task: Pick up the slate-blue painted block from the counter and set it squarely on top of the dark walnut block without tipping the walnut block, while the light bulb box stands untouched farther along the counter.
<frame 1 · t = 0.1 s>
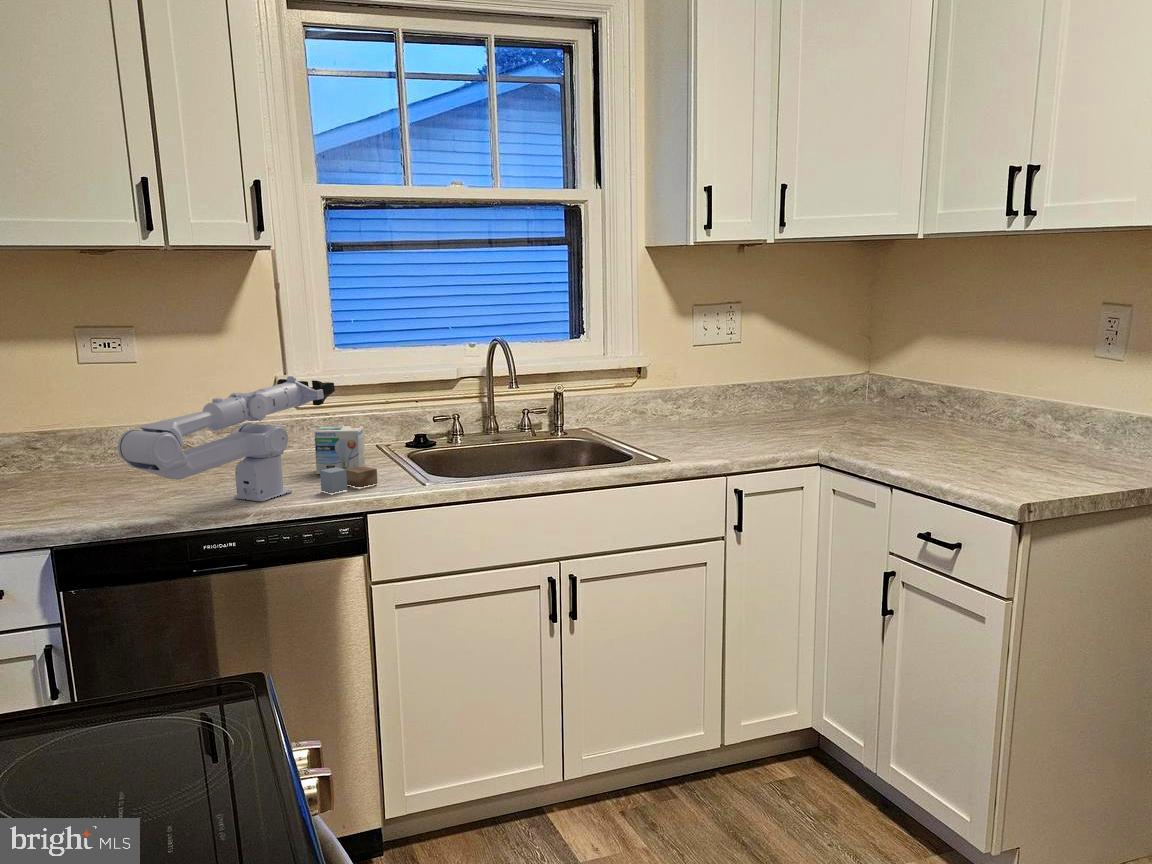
hand: (320, 386, 208), 22 cm above the worktop, tool horizontal, fingers open, 7 cm apart
walnut block: (361, 486, 202), on the worktop
light bulb box: (341, 472, 217), on the worktop
slate block: (334, 492, 197), on the worktop
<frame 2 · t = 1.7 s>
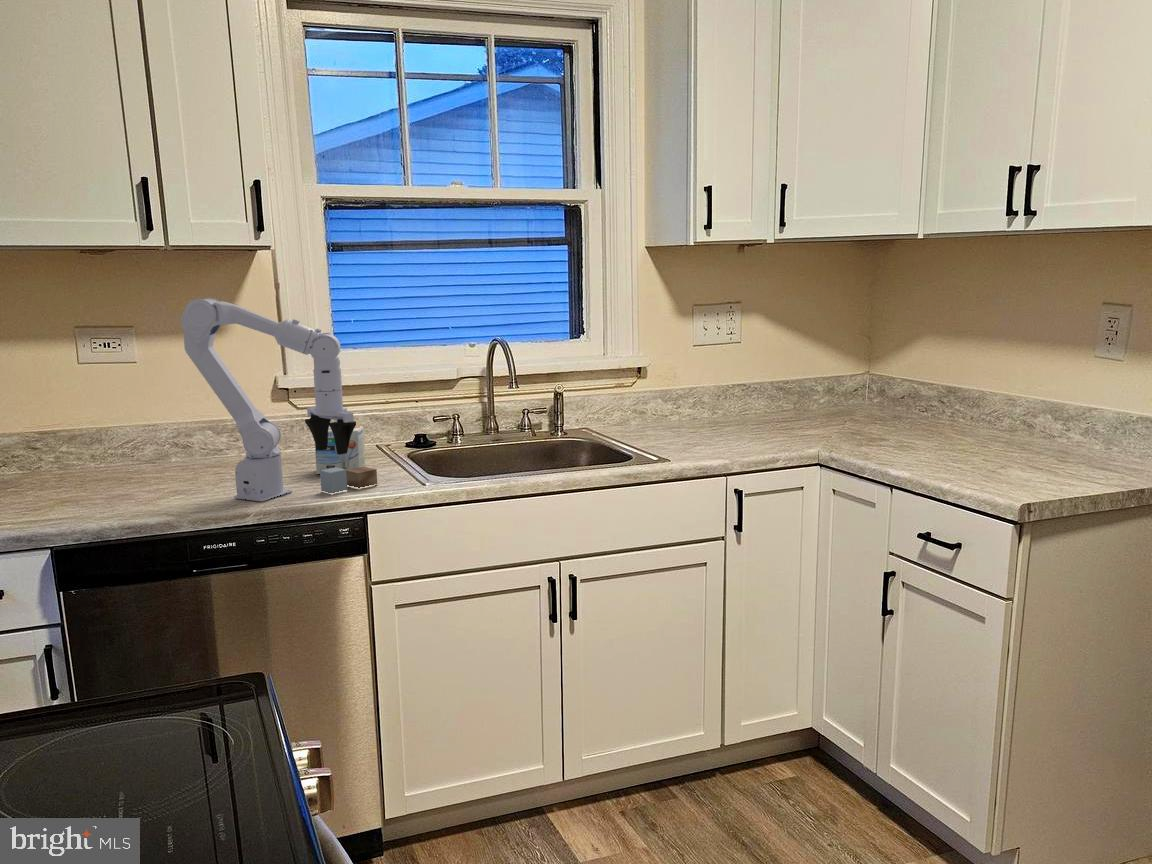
hand: (332, 451, 195), 9 cm above the worktop, tool pointing down, fingers open, 7 cm apart
nothing on the worktop moved.
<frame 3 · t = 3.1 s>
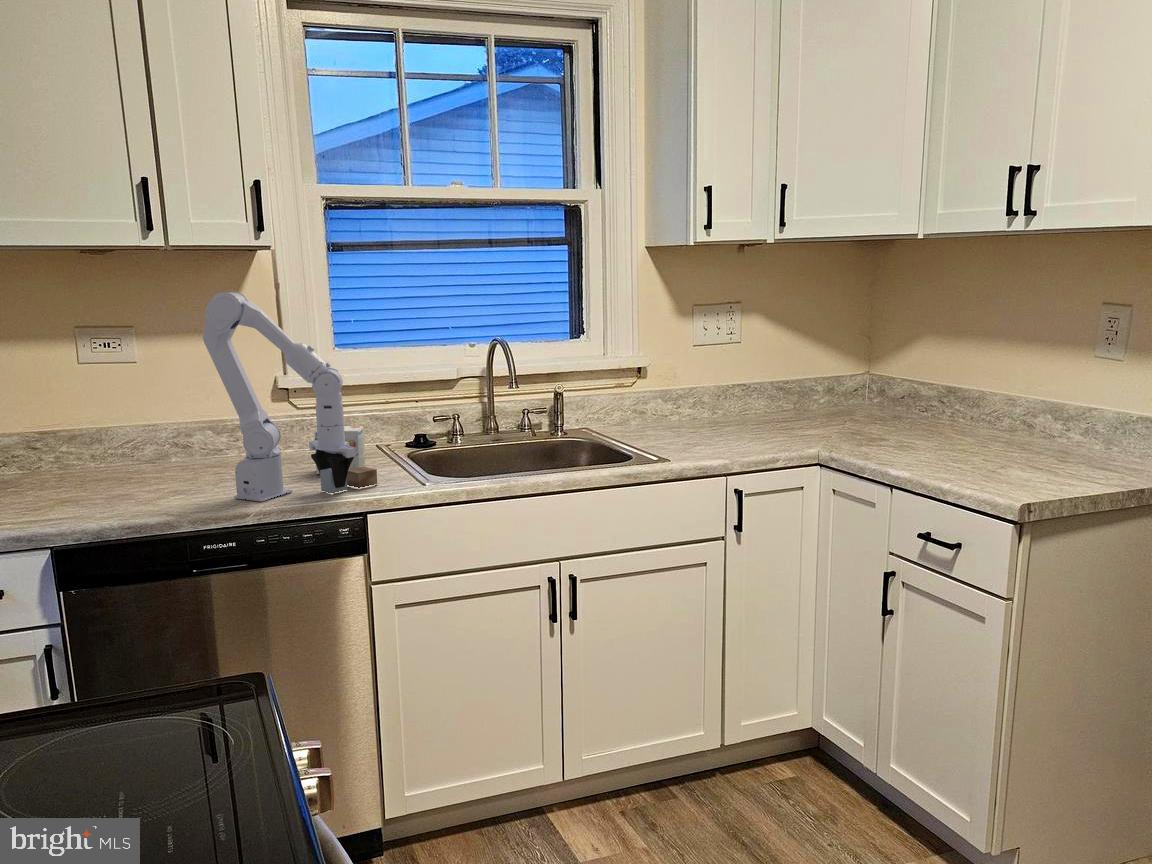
hand: (334, 485, 196), 1 cm above the worktop, tool pointing down, fingers closed on slate block, 4 cm apart
slate block: (334, 491, 197), on the worktop, touching gripper
everything else where it was.
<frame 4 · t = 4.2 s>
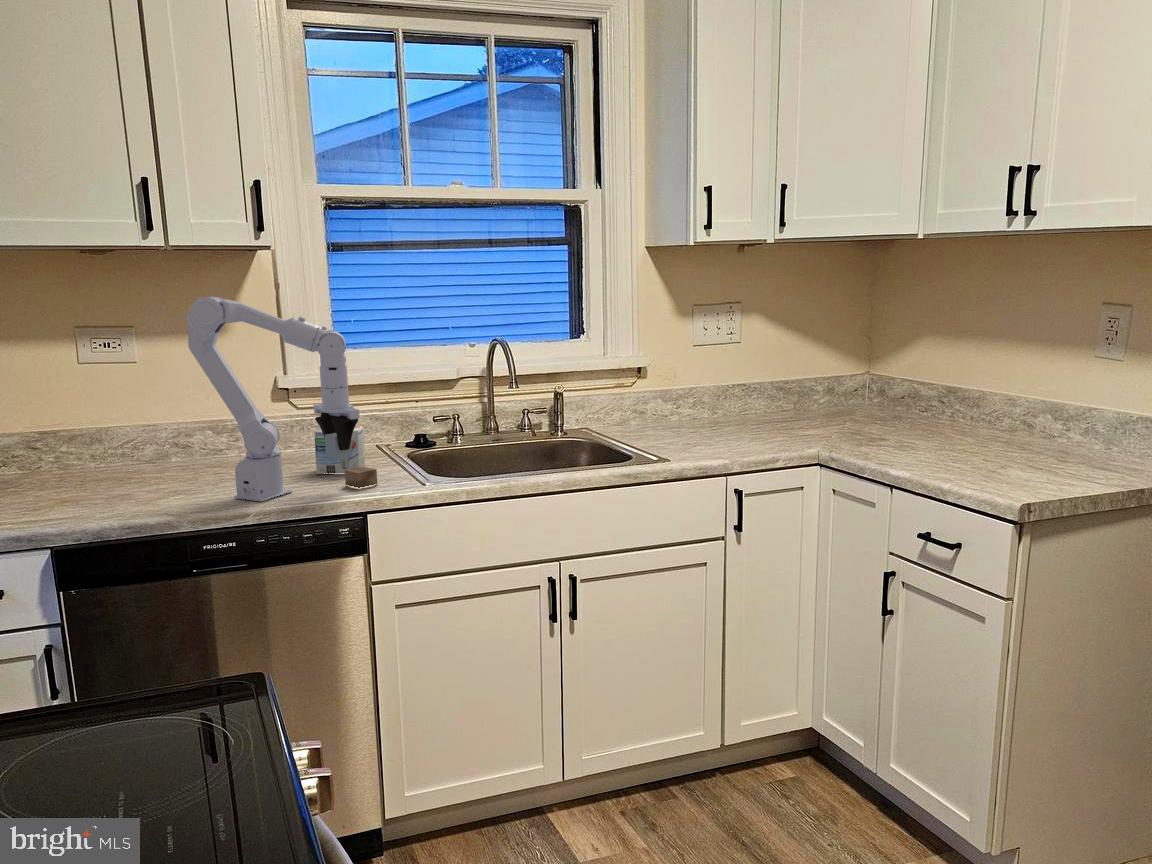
hand: (338, 448, 196), 9 cm above the worktop, tool pointing down, fingers closed on slate block, 4 cm apart
slate block: (339, 456, 196), point 8 cm above the worktop, touching gripper
everything else where it was.
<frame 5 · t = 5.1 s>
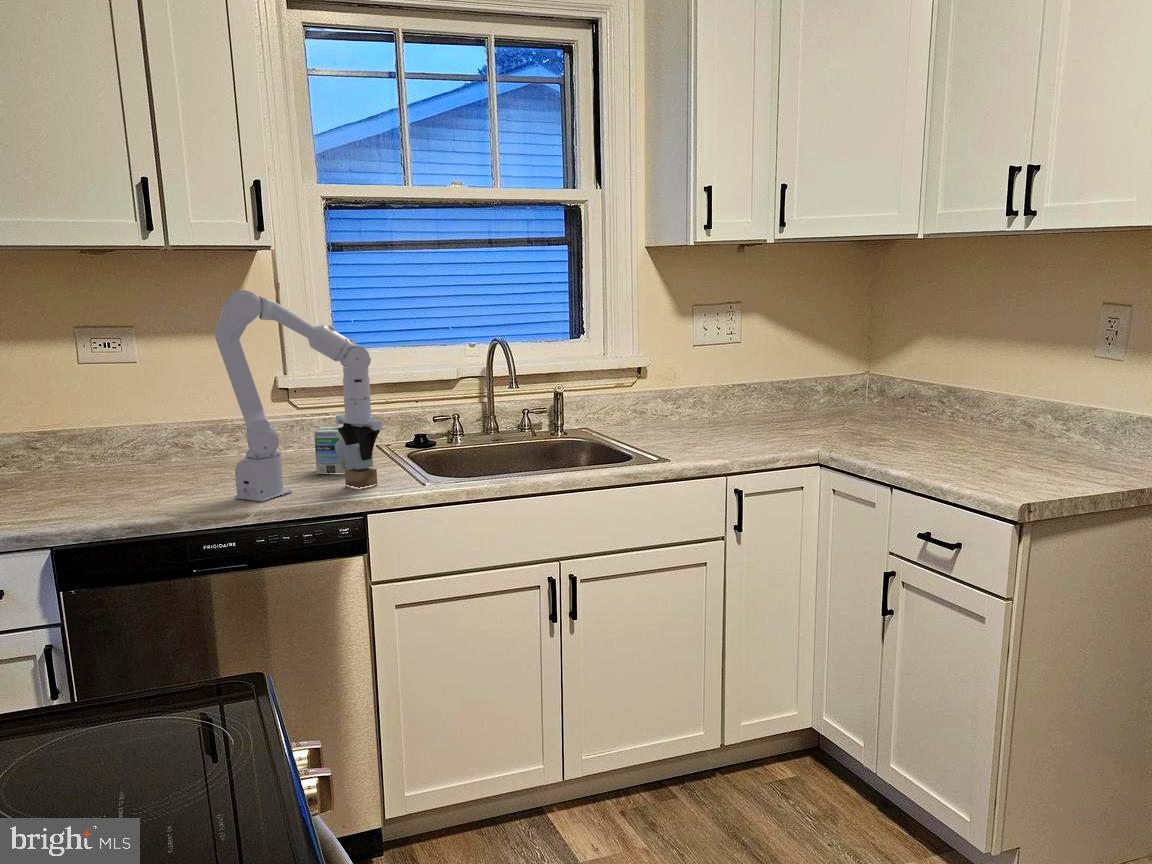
hand: (360, 458, 201), 6 cm above the worktop, tool pointing down, fingers closed on slate block, 4 cm apart
slate block: (360, 466, 201), point 4 cm above the worktop, touching gripper
everything else where it was.
when the fingers open (6 cm above the worktop, at t = 5.5 s): slate block stays where it is, resting on walnut block.
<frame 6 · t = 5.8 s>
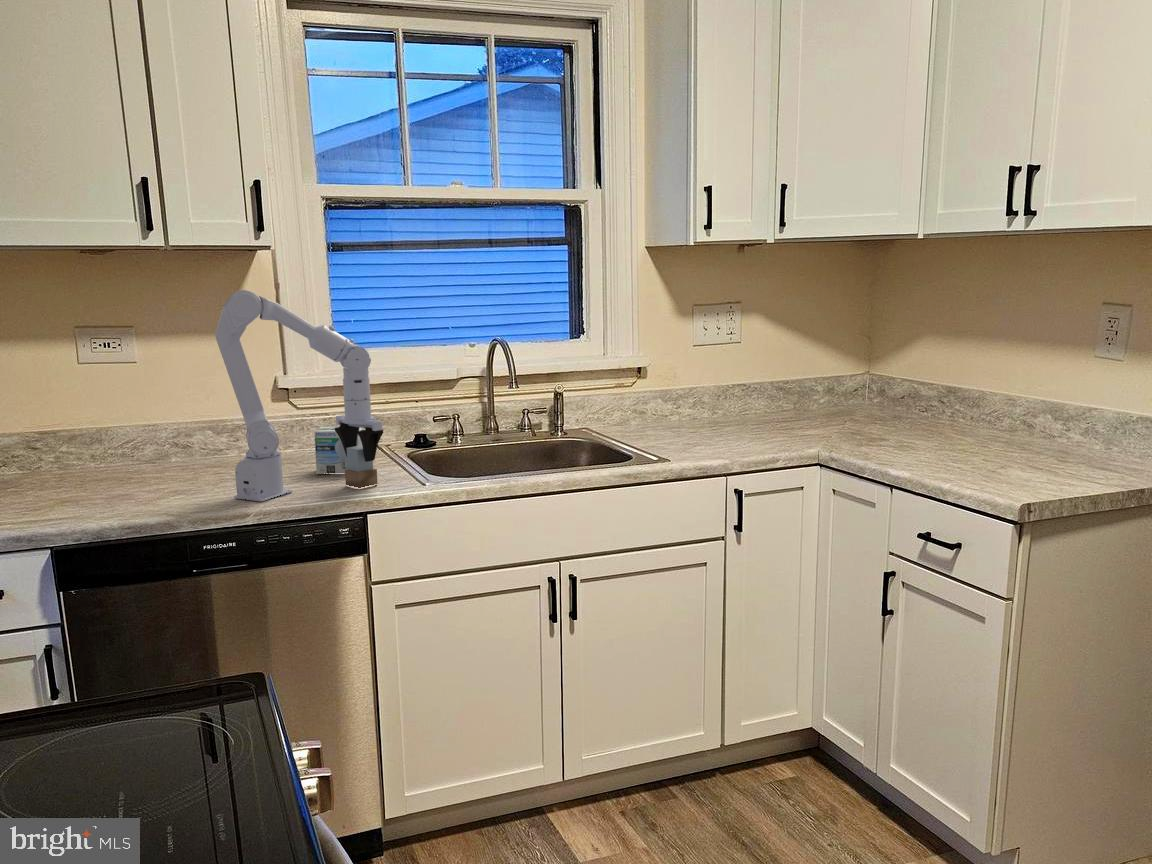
hand: (360, 458, 201), 6 cm above the worktop, tool pointing down, fingers open, 6 cm apart
walnut block: (361, 487, 202), on the worktop, touching slate block
slate block: (360, 469, 201), point 4 cm above the worktop, touching walnut block
everything else where it was.
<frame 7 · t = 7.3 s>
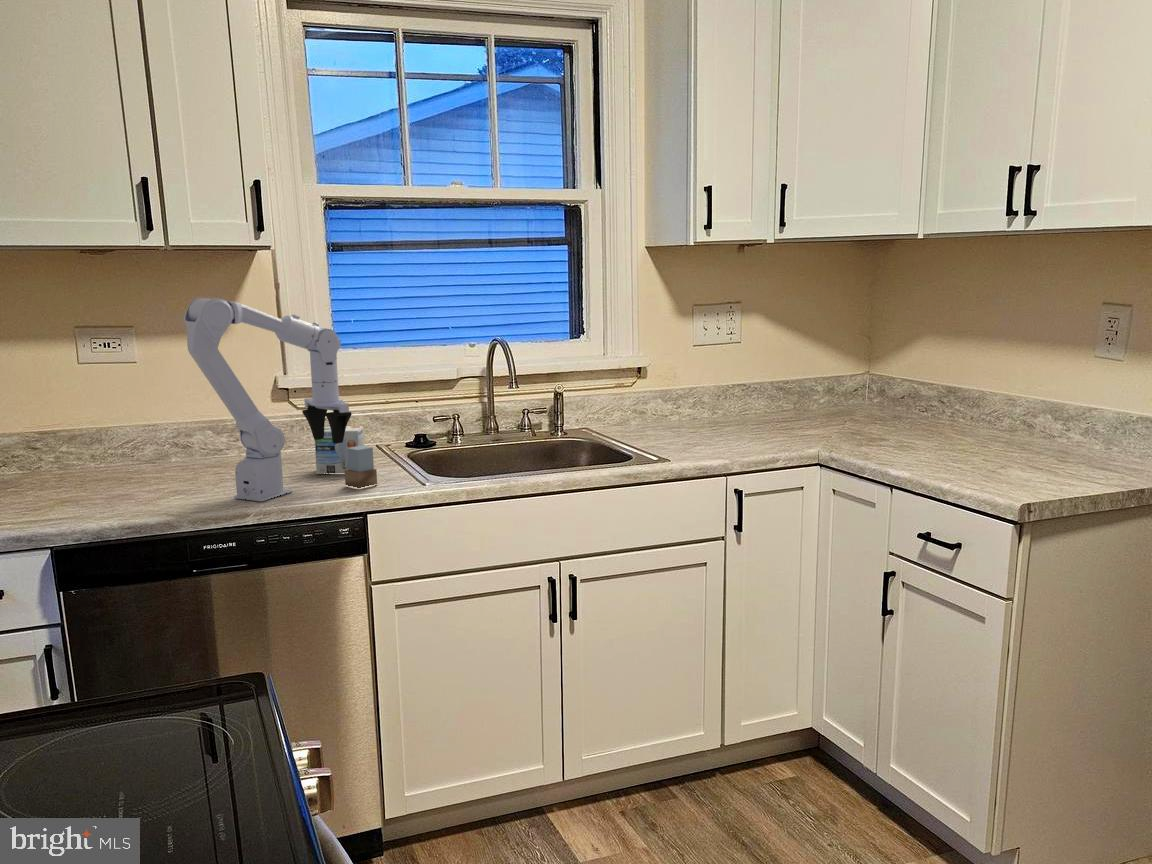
hand: (328, 441, 203), 10 cm above the worktop, tool pointing down, fingers open, 7 cm apart
walnut block: (361, 487, 202), on the worktop
slate block: (361, 469, 201), point 4 cm above the worktop
everything else where it was.
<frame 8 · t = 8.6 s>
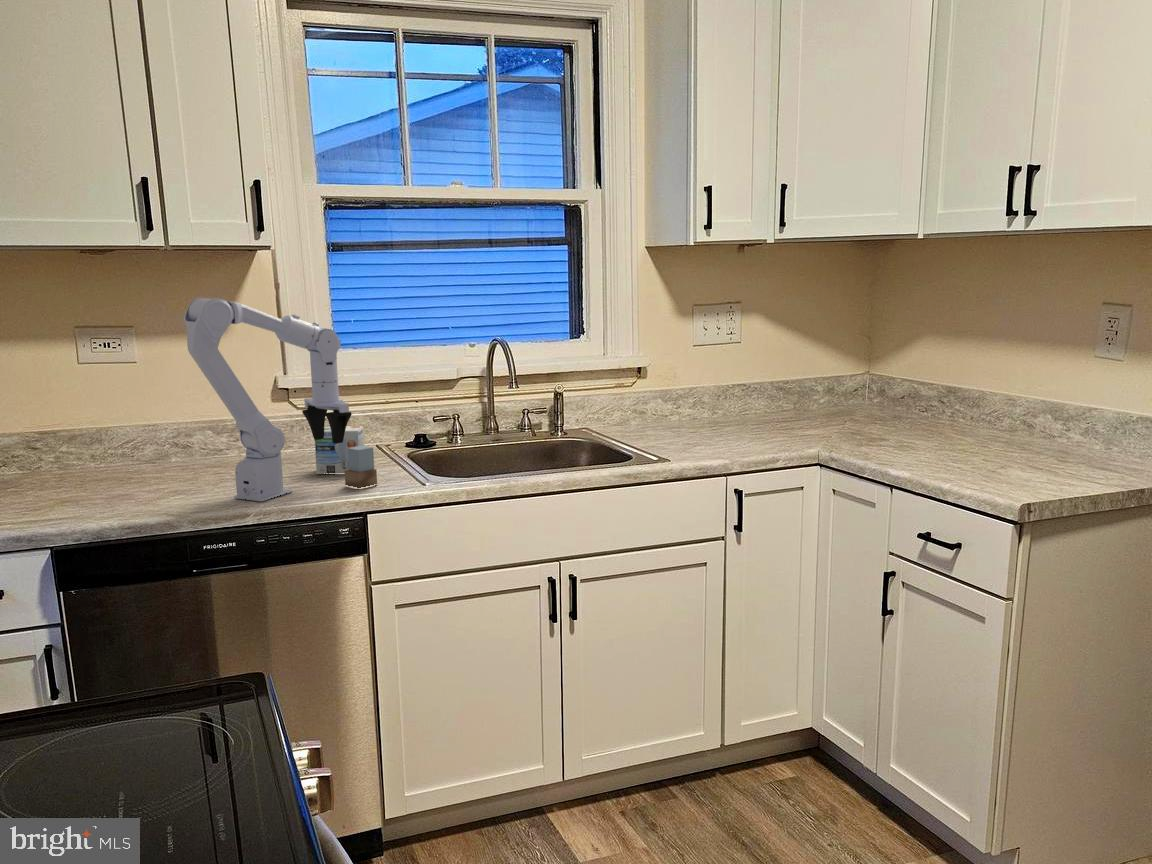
hand: (328, 441, 203), 10 cm above the worktop, tool pointing down, fingers open, 7 cm apart
nothing on the worktop moved.
at the end: slate block 0.4 cm off-centre on the walnut block, point 4.0 cm above the walnut block's base; walnut block tilted 0°; slate block tilted 0° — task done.
